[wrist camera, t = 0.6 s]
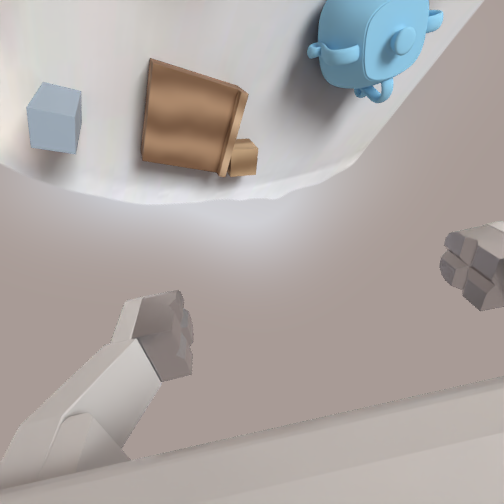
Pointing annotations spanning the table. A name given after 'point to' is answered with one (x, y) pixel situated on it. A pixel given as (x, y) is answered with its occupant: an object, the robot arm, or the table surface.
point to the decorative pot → (371, 42)
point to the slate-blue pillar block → (55, 118)
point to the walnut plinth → (190, 119)
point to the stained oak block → (243, 158)
